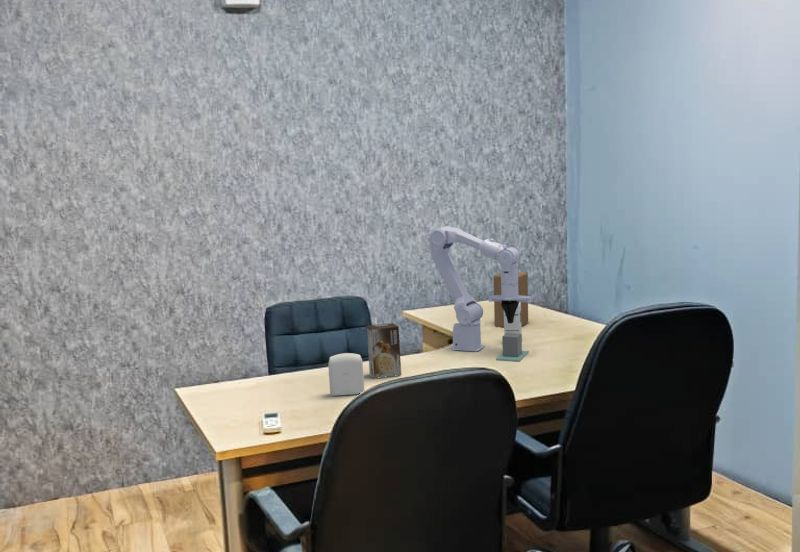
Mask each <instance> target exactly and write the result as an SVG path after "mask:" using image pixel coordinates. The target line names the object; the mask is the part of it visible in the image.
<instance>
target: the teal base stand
mask: <svg viewBox="0 0 800 552" xmlns="http://www.w3.org/2000/svg"><path fill="white" fill-rule="evenodd" d="M529 352H530V351H529V350H522V354H521V355H520V356H519V357H506V356H503V352H501V353H500V354H499V355H498V356H497V357H496V358H495V360H496V361H500V362H501V361H502V362H503V361H504V362H516V363H517V362H518V363H519V362H522V360H523V359H524V358H525V357H526V356H528V354H529Z"/></svg>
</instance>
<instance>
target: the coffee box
mask: <svg viewBox="0 0 800 552" xmlns="http://www.w3.org/2000/svg"><path fill="white" fill-rule="evenodd" d="M399 327H400V326H398V325H397V324H395V323H392V322H391V323H383V324H382V323H381V324H372V325H366V331H367V332H366V333H367V336H366V337H367V349H368V351H367V352H368V353H367V354H368V371H369V375H370V374H371V375H370V376H371V377H372V376H373V377H374V378H377V379H379V378H378V377H385V376H393V377H396V376H395V375H401V376H402V361H401V346H400V345H401V344H400V328H399ZM373 377H372V378H373ZM374 378H373V379H374ZM385 378H386V377H385Z"/></svg>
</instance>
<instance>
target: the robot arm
mask: <svg viewBox="0 0 800 552" xmlns="http://www.w3.org/2000/svg"><path fill="white" fill-rule="evenodd" d="M428 242H429V245H430V256H431V259H432V261H433V263H434V265H435V266H436V268H437V270H438V272H439V274H440V277H441V278H442V279H443V282H444V283H445V285H446V287H447V289H448V292H449V293H450V294H451V297H452V299H453V300H454V305H453V309H454V312H455V316H456V320H457V322H458V323H457V322H456V323H453V324H454V325H453V327H452V350H453V351H465V352H479V351H480V350H482V349H483V348H485V344H482V338H481V337H482V336H481V334H482V332H481V318H483V315H484V309H483V307H482V305H481V304H480V303H478V302H477V300H476V299H475V297H473V296H472V295H470V293H468V291H467V289H466V286H465V285H464V283H463V281H462V279H461V277H460V276H459V274H458V271H457V270H456V268H455V266H454V264H453V262H452V260H451V259H450V256H449V252H450V249H451V247H452V246H453V244H454V243H461V244H463V245H466V246H469V247H470V248H475V249H477V250H479V253H480V254H481V255H482V256H485V257H487V258H489V259H492V260H494V261H496V262H497V263H498V264H499V265H500V273H501V295H494V294H490V295H488V302H490V303H491V302H494V301H498V302H502V304H501V306H502V308H503V310H504V312H505V314H506V317H507V321H508V323H513V321H514V315H515V312H516V309H517V307H518V305H519V302H527V303H528V304H531V303H532V298H533V297H532V295H531V296H530V295H528V296H522V295H518V272H519V270H518V268H519V265H518V262H519V261H520V260H521V253H520V250H519V249H517V248H515V246H509V247H508V245H506V244H501V243H499V242H496V241H495V239H494V238H486V239H484V240H483V239H480V238H479V237H477V236H474V235H473V234H470V233H468V232H466V231H465V230H462V229H460V228H459V227H456V226H455V227H454V226H453V225H449V224H447V225H445V226H442V227H438V228H434V229H433V230H431V232H430V234H429V237H428Z"/></svg>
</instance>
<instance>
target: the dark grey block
mask: <svg viewBox="0 0 800 552" xmlns="http://www.w3.org/2000/svg"><path fill="white" fill-rule="evenodd" d="M522 336H523V333H522V334H516V333H506V334H505V335H504V334H503V335H502V339H501V340H502V343H501V344H502V353H503V356H506V357H519V356H520V355H521V354H522V351H523V345H522V344H523V343H522V342H523V337H522Z"/></svg>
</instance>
